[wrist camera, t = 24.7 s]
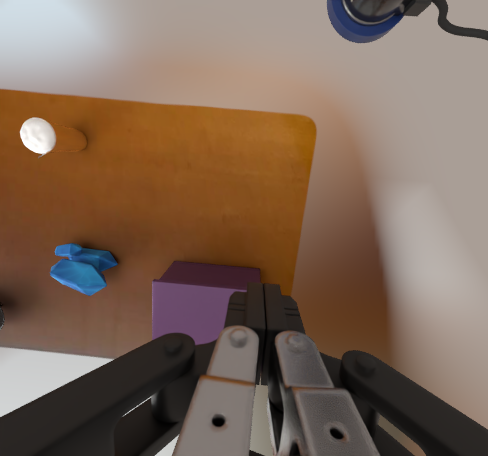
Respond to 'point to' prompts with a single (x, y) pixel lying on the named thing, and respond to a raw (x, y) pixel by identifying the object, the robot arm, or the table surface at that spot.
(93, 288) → the gemstones
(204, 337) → the lid
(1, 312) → the light fixture
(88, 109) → the table surface
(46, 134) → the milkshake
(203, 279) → the box
